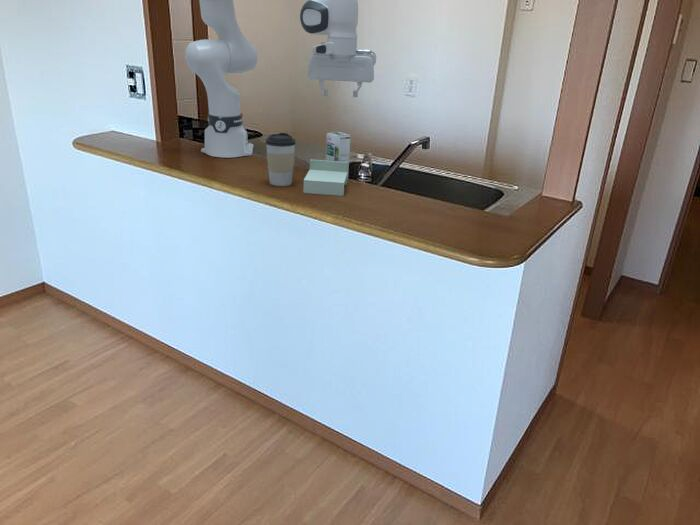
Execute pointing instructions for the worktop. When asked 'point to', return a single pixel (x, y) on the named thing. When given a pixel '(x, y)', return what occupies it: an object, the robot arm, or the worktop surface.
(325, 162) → the shelf
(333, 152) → the syrup box
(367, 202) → the worktop surface
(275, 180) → the coffee cup
